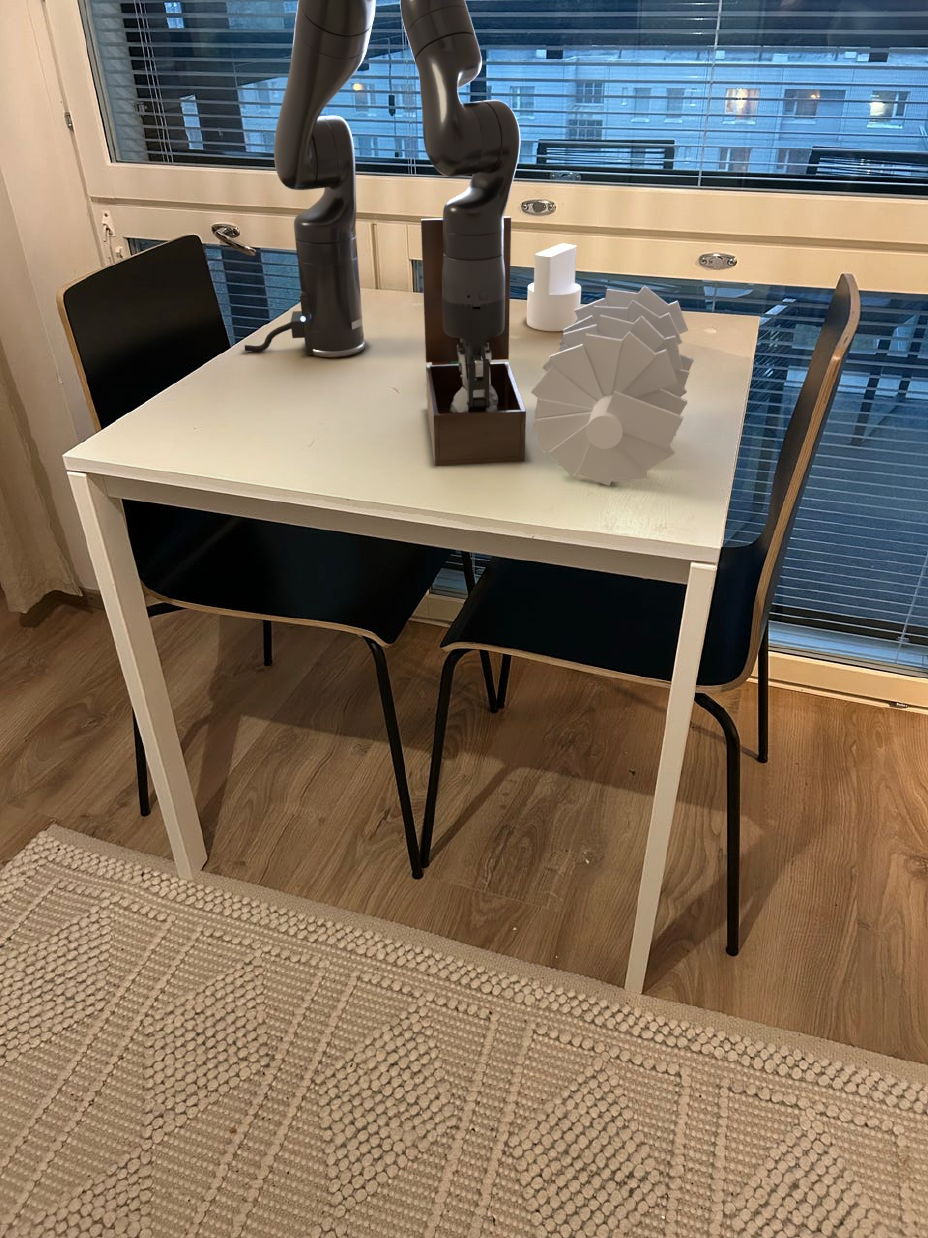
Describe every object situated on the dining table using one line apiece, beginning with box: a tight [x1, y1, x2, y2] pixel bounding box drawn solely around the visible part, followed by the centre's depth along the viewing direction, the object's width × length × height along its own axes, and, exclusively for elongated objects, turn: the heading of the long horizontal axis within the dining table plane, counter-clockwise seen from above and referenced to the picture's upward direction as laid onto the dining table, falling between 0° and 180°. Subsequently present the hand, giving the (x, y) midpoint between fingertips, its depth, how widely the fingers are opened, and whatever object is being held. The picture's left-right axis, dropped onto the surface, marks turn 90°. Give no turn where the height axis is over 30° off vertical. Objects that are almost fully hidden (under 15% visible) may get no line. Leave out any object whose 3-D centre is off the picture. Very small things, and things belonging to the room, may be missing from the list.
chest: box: [425, 361, 527, 466], centre depth 121 cm, size 17×11×7 cm, turn 5°
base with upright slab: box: [526, 243, 582, 332], centre depth 157 cm, size 9×9×12 cm
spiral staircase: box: [530, 285, 695, 487], centre depth 113 cm, size 18×18×25 cm
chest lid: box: [420, 215, 512, 364], centre depth 122 cm, size 18×11×5 cm
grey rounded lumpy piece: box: [450, 384, 498, 413], centre depth 120 cm, size 6×7×7 cm
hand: (474, 421), depth 120 cm, fingers open, 7 cm apart
